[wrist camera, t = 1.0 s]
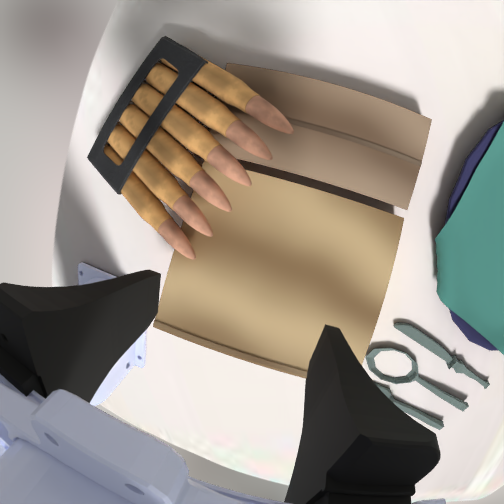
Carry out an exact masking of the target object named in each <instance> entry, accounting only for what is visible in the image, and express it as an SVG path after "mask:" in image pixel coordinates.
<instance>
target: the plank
mask: <svg viewBox="0 0 504 504" xmlns="http://www.w3.org/2000/svg"><path fill="white" fill-rule="evenodd" d="M202 168H203V169H204V170H205V172H206V173H207V174H208V175H209V176H210V177H212V178H213V179H214V181H215V182H216V183H217V184H218V185H219V186H220V188H221V189H222V190H223V192H224V193H225V195H226V196H227V198H228V200H229V202H230V204H231V207H232V211H231V212H228V211H224V210H222V209H220V208H218V207H216V206H214V205H213V204H211V203H209V202H208V201H207V200H205V199H204V198H203V197H201V196H200V195H199V194H198V193H197V192H196V191H195V190H193V193H192V196H191V199H192V201H193V202H194V203H195V204H196V205H197V206H198V207H199V209H200V210H201V211H202V213H203V214H204V216H205V217H206V219H207V221H208V222H209V224H210V226H211V228H212V231H213V236H212V237H210V236H207V235H204V234H202V233H200V232H199V231H197V230H195V229H194V228H192V227H191V226H190V225H189V224H187V223H186V222H185V221H184V220H183V223H182V227H181V230H182V231H183V232H184V234H185V235H186V237H187V238H188V240H189V242H190V243H191V245H192V247H193V249H194V252H195V255H196V259H195V260H192V259H190V258H187V257H186V256H184V255H182V254H181V253H179V252H178V251H177V250H175V249H174V253H173V256H172V259H171V263H170V266H169V270H168V273H167V277H166V280H165V284H164V287H163V291H162V295H161V298H160V302H159V306H158V313H157V315H156V317H155V320H154V324H153V327H155V328H157V329H160V330H162V331H165V332H167V333H170V334H172V335H175V336H177V337H180V338H182V339H185V340H188V341H190V342H193V343H196V344H198V345H201V346H204V347H207V348H209V349H212V350H215V351H218V352H221V353H224V354H226V355H229V356H232V357H235V358H238V359H241V360H245V361H248V362H251V363H254V364H257V365H260V366H264V367H267V368H270V369H274V370H277V371H281V372H284V373H288V374H291V375H295V376H299V377H302V378H306V377H307V371H308V366H309V361H310V359H311V357H312V354H313V352H314V350H315V347H316V345H317V343H318V340H319V338H320V336H321V333H322V331H323V329H324V326H325V324H326V325H330V326H334V327H337V328H340V330H341V332H342V333H343V335H344V337H345V339H346V341H347V342H348V344H349V346H350V348H351V349H352V351H353V353H354V354H355V356H356V358H357V359H358V361H359V362H360V364H361V365H362V363H363V360H364V357H365V355H366V352H367V349H368V347H369V344H370V341H371V338H372V335H373V332H374V329H375V326H376V323H377V320H378V317H379V314H380V311H381V307H382V304H383V301H384V298H385V294H386V291H387V287H388V284H389V280H390V276H391V273H392V269H393V265H394V261H395V257H396V253H397V249H398V244H399V240H400V235H401V231H402V226H403V221H404V218H402V217H399V216H397V215H394V214H391V213H388V212H385V211H382V210H380V209H377V208H374V207H371V206H368V205H365V204H362V203H359V202H356V201H353V200H350V199H347V198H343V197H340V196H337V195H334V194H331V193H327V192H324V191H321V190H318V189H314V188H311V187H307V186H304V185H300V184H297V183H293V182H290V181H286V180H283V179H279V178H275V177H272V176H268V175H264V174H260V173H256V172H252V171H248V170H245V171H246V172H247V174H248V175H249V177H250V179H251V182H252V185H251V186H245V185H242V184H240V183H238V182H236V181H234V180H232V179H230V178H228V177H227V176H225V175H224V174H222V173H221V172H220V171H218V170H217V169H216V168H214V167H213V166H212V165H211V164H210V163H208V162H207V161H205V160H204V162H203V165H202Z"/></svg>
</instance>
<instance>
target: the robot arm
mask: <svg viewBox="0 0 504 504" xmlns="http://www.w3.org/2000/svg"><path fill="white" fill-rule="evenodd" d="M82 272H83V273H82ZM160 278H161V274H160V273H157V272H154V271H151V270H144V271H139V272H135V273H131V274H127V275H124V276H120V277H116V276H114V275H111V274H109V273H106V272H104V271H102V270H99V269H97V268H95V267H92V266H90V265H88V264H86V263H83V262H81V263H79V264H78V282H79V285H76V286H67V287H30V286H21V285H15V284H8V283H1V284H0V504H411V496H413V495H414V494H415V484H416V483H417V482H418V481H420V480H421V479H422V478H423V477H425V476H426V475H427V474H428V473H429V472H431V471H432V469H433V468H434V467H435V466H436V465H437V464H438V462H439V460H440V450H439V445H438V441H437V437H436V434H435V433H434V432H432V431H431V430H429V429H427V428H426V427H424V426H423V425H421V424H419V423H418V422H416V421H415V420H414V419H412V418H411V417H410V416H408V415H407V414H406V413H404V412H403V411H402V410H401V409H400V408H398V407H397V406H396V405H395V404H394V403H393V402H392V401H391V400H390V399H389V398H388V397H387V396H386V395H385V394H384V393H383V392H382V391H381V390H380V389H379V387H378V386H377V385H376V384H375V383H374V382H373V380H372V379H371V378H370V377H369V375H368V374H367V372H366V371H365V370H364V368H363V367H362V365H361V364H360V362H359V361H358V359H357V358H356V356H355V354H354V353H353V351H352V349H351V348H350V346H349V344H348V342H347V341H346V339H345V337H344V335H343V333H342V332H341V330H340V328H337V327H334V326H330V325H326V324H325V326H324V329H323V331H322V333H321V336H320V338H319V340H318V343H317V345H316V347H315V350H314V352H313V354H312V357H311V359H310V361H309V366H308V371H307V377H306V385H305V402H304V418H303V429H302V435H301V440H300V445H299V449H298V454H297V458H296V462H295V466H294V470H293V474H292V478H291V481H290V485H289V488H288V492H287V495H286V498H285V501H284V502H279V501H274V500H270V499H265V498H261V497H256V496H252V495H248V494H244V493H240V492H237V491H233V490H230V489H226V488H223V487H219V486H216V485H213V484H210V483H207V482H204V481H201V480H198V479H195V478H192V477H189V476H188V474H189V470H188V467H187V465H186V463H185V460H184V459H183V457H182V456H181V455H180V454H178V453H177V452H176V451H175V450H174V449H173V448H172V447H170V446H169V445H167V444H165V443H164V442H162V441H160V440H158V439H156V438H155V437H153V436H151V435H149V434H147V433H145V432H143V431H140V430H138V429H136V428H134V427H132V426H130V425H128V424H126V423H124V422H122V421H120V420H118V419H116V418H115V417H113V416H111V415H109V414H107V413H105V412H104V411H102V410H100V409H98V408H96V407H95V405H98V404H100V403H102V402H104V401H105V400H106V399H107V398H108V397H109V396H110V394H111V393H112V392H113V391H114V389H115V388H116V387H117V386H118V385H119V383H120V382H121V381H122V380H123V379H124V377H125V376H126V375H127V374H128V373H129V371H130V370H131V369H132V368H133V366H134V365H136V366H138V367H140V368H143V367H144V366H145V352H146V329H147V328H148V327H149V325H150V324H151V322H152V321H153V319H154V318H155V316H156V315H157V313H158V304H159V290H160ZM140 356H141V357H140ZM412 504H446V501H445V499H433V500H422V501H417V502H414V503H412Z"/></svg>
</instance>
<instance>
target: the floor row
mask: <svg viewBox="0 0 504 504" xmlns="http://www.w3.org/2000/svg"><path fill="white" fill-rule="evenodd" d="M225 71H227V72H229V73H230V74H232V75H234V76H235V77H237V78H239V79H240V80H242V81H243V82H244V83H246V84H247V85H248V86H249V87H250V88H251V89H252V90H253V91H254V92H256V93H257V94H259V95H260V96H261V97H262V98H263V99H265V100H266V101H268V102H269V103H271V104H272V105H273V106H274V107H275V108H277V109H278V110H279V111H280V112H281V113H282V114H283V115H284V117H285V118H286V119H287V120H288V121H289V123H290V124H291V126H292V128H293V130H294V133H293V134H288V133H284V132H281V131H278V130H276V129H273V128H271V127H269V126H267V125H265V124H263V123H261V122H260V121H258V120H256V119H255V118H253V117H252V116H251V115H249V114H247V113H245V112H243V111H242V110H240V109H239V108H237V107H235V106H232V105H230V104H227V103H225V102H224V101H222V100H221V99H219V98H218V100H219V101H220V102H222V103H223V104H224V105H225V106H226V107H227V108H228V109H229V110H230V111H231V112H232V113H233V114H234V115H235V116H236V117H238V118H239V119H240V120H241V121H242V122H243V123H244V124H246V125H247V126H248V127H249V128H251V129H252V130H253V131H254V132H255V133H256V134H257V135H258V136H259V137H260V138H261V139H262V141H263V142H264V143H265V144H266V146H267V147H268V149H269V150H270V152H271V154H272V157H273V159H272V160H266V159H263V158H260V157H257V156H255V155H253V154H251V153H249V152H247V151H246V150H244V149H242V148H241V147H239V146H238V145H236V144H235V143H234V142H232V141H231V140H230V139H228V138H226V137H225V136H223V135H222V134H221V133H219V132H218V131H215V130H213V129H211V130H210V133H211V134H212V136H213V137H214V138H215V139H216V140H217V141H218V142H219V143H220V144H221V145H222V146H223V147H224V148H225V149H226V150H227V151H228V152H230V153H231V154H232V155H233V156H234V157H235V158H236V159H240V160H244V161H248V162H252V163H256V164H260V165H264V166H268V167H272V168H276V169H279V170H283V171H287V172H290V173H294V174H298V175H301V176H305V177H308V178H312V179H315V180H318V181H322V182H325V183H328V184H332V185H335V186H338V187H341V188H344V189H347V190H351V191H354V192H357V193H360V194H363V195H366V196H369V197H372V198H374V199H377V200H380V201H383V202H386V203H389V204H391V205H394V206H397V207H400V208H402V209H405V210H407V209H408V206H409V203H410V200H411V196H412V193H413V190H414V187H415V183H416V180H417V176H418V173H419V169H420V167H421V164H422V158H423V155H424V151H425V147H426V143H427V138H428V134H429V130H430V125H431V121H432V119H429V118H427V117H425V116H423V115H420V114H418V113H416V112H413V111H411V110H408V109H406V108H403V107H401V106H398V105H396V104H393V103H390V102H388V101H385V100H382V99H379V98H377V97H374V96H371V95H368V94H365V93H362V92H359V91H355V90H352V89H349V88H346V87H342V86H339V85H335V84H332V83H328V82H324V81H320V80H316V79H312V78H308V77H304V76H300V75H295V74H291V73H286V72H281V71H276V70H270V69H265V68H259V67H253V66H246V65H239V64H231V63H227V65H226V69H225Z"/></svg>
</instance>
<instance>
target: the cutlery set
mask: <svg viewBox="0 0 504 504" xmlns="http://www.w3.org/2000/svg"><path fill="white" fill-rule="evenodd" d="M435 242H436V254H437V269H438V274H437V294H438V296H439V298H440V300H441V301H442V302H443V303H444V304H445V305H446V306H447V307H448V308H449V310H450V313H451V316H452V320H453V321H454V322H455V324H456V325H457V326H458V327H459V329H460V330H461V331H462V332H463V334H464V335H465V336H466V337H467V339H468V340H469V341H471V342H473V343H475V344H477V345H479V346H482V347H484V348H486V349H488V350H499V351H500V352H501V353H502V354H503V355H504V121H502V122H500V123H498V124H497V125H495V126H493V127H491V128H490V129H489V130H488V131H487V132H486V134H485V135H484V136H483V138H482V139H481V140H480V141H479V143H478V144H477V145H476V147H475V148H474V149H473V150H472V152H471V153H470V154H469V156H468V157H467V158H466V160H465V163H464V165H463V168H462V170H461V173H460V175H459V178H458V180H457V183H456V185H455V187H454V190H453V192H452V194H451V196H450V199H449V203H448V209H447V215H446V221H445V226H444V227H443V229H442V230H441V231H440V233H439V234H438V235H437V237H436V238H435ZM394 327H395V328H396V329H398V330H399V331H401V332H402V333H404V334H405V335H407V336H408V337H410V338H411V339H413V340H414V341H416V342H417V343H419V344H421V345H422V346H424V347H425V348H427V349H428V350H430V351H431V352H433V353H434V354H436V355H437V356H439V357H440V358H442V359H443V360H445V361H446V362H447V363H446V364H447V366H448V368H449V369H450V368H451V367H452V368H454V370H455V372H456V373H464V374H465V375H467V376H468V377H470V378H472V379H474V380H476V381H477V382H479V383H480V384H481V385H483V386H484V388H485V389H486V388H487V387H488V386H489V385H490V384H489V382H488V380H487V381H484V380H482V379H481V378H479V377H477V376H476V375H475V374H474V373H473V372H471V371H470V370H469V369H467V368H466V366H465V365H464V363H463V362H462V360H459V361H458V359H457V357H456V355H453V356H452V357H451V355H450V354H449V353H448V352H447V351H446V350H445V349H444V348H443V347H442V346H441V345H440V344H438V343H437V342H436V341H434V340H433V339H432V338H430V337H429V336H427V335H426V334H424V333H423V332H421V331H420V330H418V329H417V328H415V327H414V326H412V325H410V324H407V323H395V324H394ZM390 350H395V351H398V352H401V353H404V354H406V355H407V357H408V358H409V359H410V360H411V361H412V370H411V371H410V372H409V373H408V374H407V375H406V376H403V377H396V378H394V377H390V376H386V375H383V374H382V373H381V372H380V371H379V370H378V369H377V368H376V367H375V362H374V357H375V356H376V355H377V354H378V353H379V352H380V351H390ZM366 360H367V364H368V367H369V370H371V371H372V372H373V373H374V374H375V375H376V376H378V377H379V378H380V379H381V380H385V381H388V382H391V383H395V384H400V383H409V382H412V381H417V382H418V383H420V384H421V385H422V386H424V387H425V388H427V389H428V390H430V391H431V392H433V393H434V394H436V395H437V396H439V397H440V398H442V399H443V400H445V401H447V402H448V403H450V404H451V405H453V406H455V407H456V408H458V409H460V410H462V411H464V410H465V409H466V408H467V407H469V405H468V403H467V402H464V401H463V400H460V399H458V398H456V397H454V396H452V395H450V394H448V393H446V392H444V391H442V390H441V389H439V388H438V387H436V386H434V385H432V384H431V383H429V382H427V381H425V380H424V379H422V378H421V377H419V376H418V375H419V374H418V365H417V363H416V362H415V361H414V360H413V359H412V358H411V357H410V356H409V355H408V354H407V353H405V352H402V351H399V350H396V349H393V348H380V349H373V350H372V351H371V352H370V353H369V354H368V355H367V356H366ZM374 383H375V382H374ZM375 384H376V385H377V386H378V387H379V389H380V390H381V391H382V392H383V393H384V394H385V395H386V396H387V397H388V398H389V399H390V400H391V401H392V402H393V403H394V404H395V405H396V406H397V407H398V408H400V409H401V410H402V411H403V412H406V413H408V414H410V415H412V416H414V417H416V418H418V419H419V420H421V421H423V422H425V423H426V424H428V425H430V426H432V427H435V428H437V429H439V430H440V429H442V428H443V427H444V424H443V421H441V420H438V419H436V418H433V417H431V416H429V415H428V414H426V413H424V412H422V411H420V410H418V409H416V408H414V407H412V406H410V405H408V404H405V403H402V402H400V401H397V400H395V399H394V398H393V396H391V392H390V389H389V388H387V387H384V386H381V385H379V384H377V383H375Z"/></svg>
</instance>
